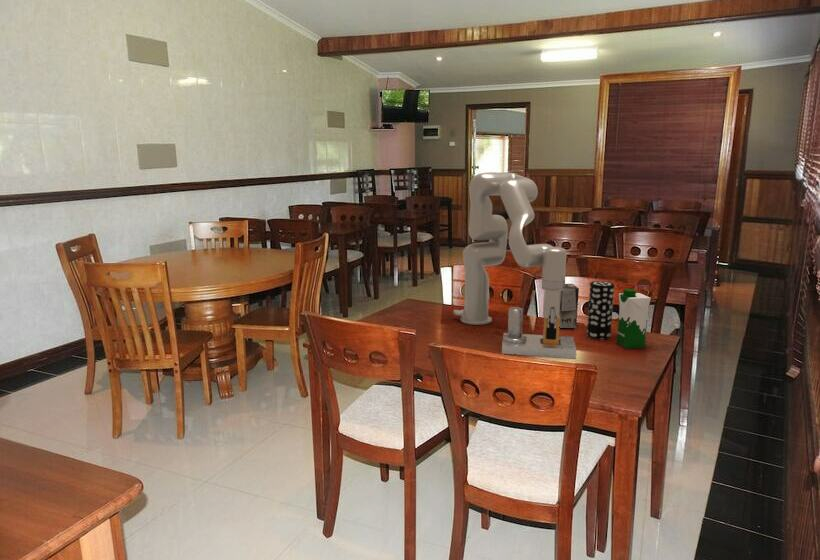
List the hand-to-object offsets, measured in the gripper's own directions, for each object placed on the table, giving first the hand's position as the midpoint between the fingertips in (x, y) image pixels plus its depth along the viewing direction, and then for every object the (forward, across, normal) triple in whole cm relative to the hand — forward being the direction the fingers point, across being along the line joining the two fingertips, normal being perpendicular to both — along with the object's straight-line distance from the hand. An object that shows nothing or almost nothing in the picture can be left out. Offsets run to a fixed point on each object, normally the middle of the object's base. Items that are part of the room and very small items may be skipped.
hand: (550, 336), depth 194 cm
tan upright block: (+3, 0, 0) cm, 3 cm away
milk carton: (+5, -11, +28) cm, 31 cm away
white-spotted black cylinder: (+5, -19, +18) cm, 27 cm away
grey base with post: (+5, 0, -4) cm, 6 cm away
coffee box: (+5, -31, +7) cm, 32 cm away
